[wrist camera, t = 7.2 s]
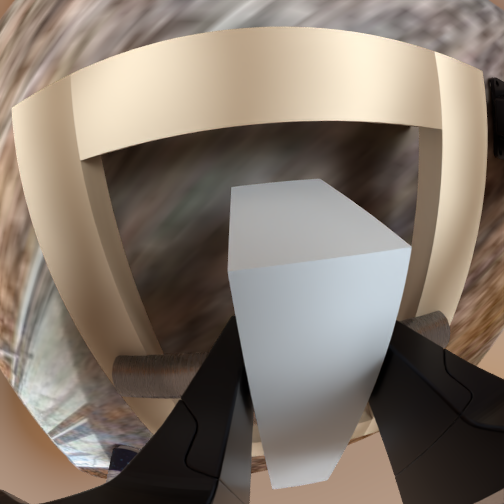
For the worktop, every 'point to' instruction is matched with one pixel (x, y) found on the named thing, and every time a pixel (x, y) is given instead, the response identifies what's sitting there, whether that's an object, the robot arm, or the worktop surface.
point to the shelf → (232, 115)
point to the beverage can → (120, 460)
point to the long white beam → (311, 317)
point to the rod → (186, 365)
